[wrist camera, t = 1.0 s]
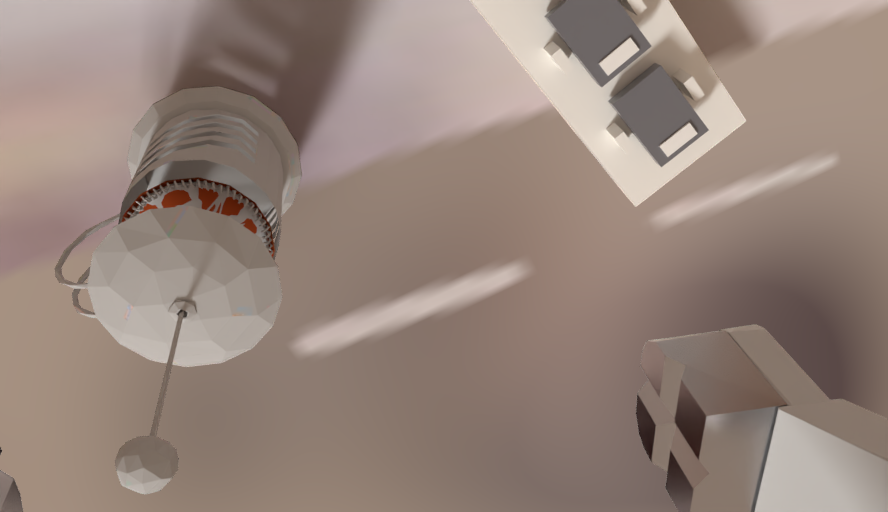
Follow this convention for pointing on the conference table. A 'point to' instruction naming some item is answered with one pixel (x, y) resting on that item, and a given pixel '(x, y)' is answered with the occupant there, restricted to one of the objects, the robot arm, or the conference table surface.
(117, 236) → the french press
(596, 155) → the rocker switch panel
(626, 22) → the plate
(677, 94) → the block
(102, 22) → the conference table surface
